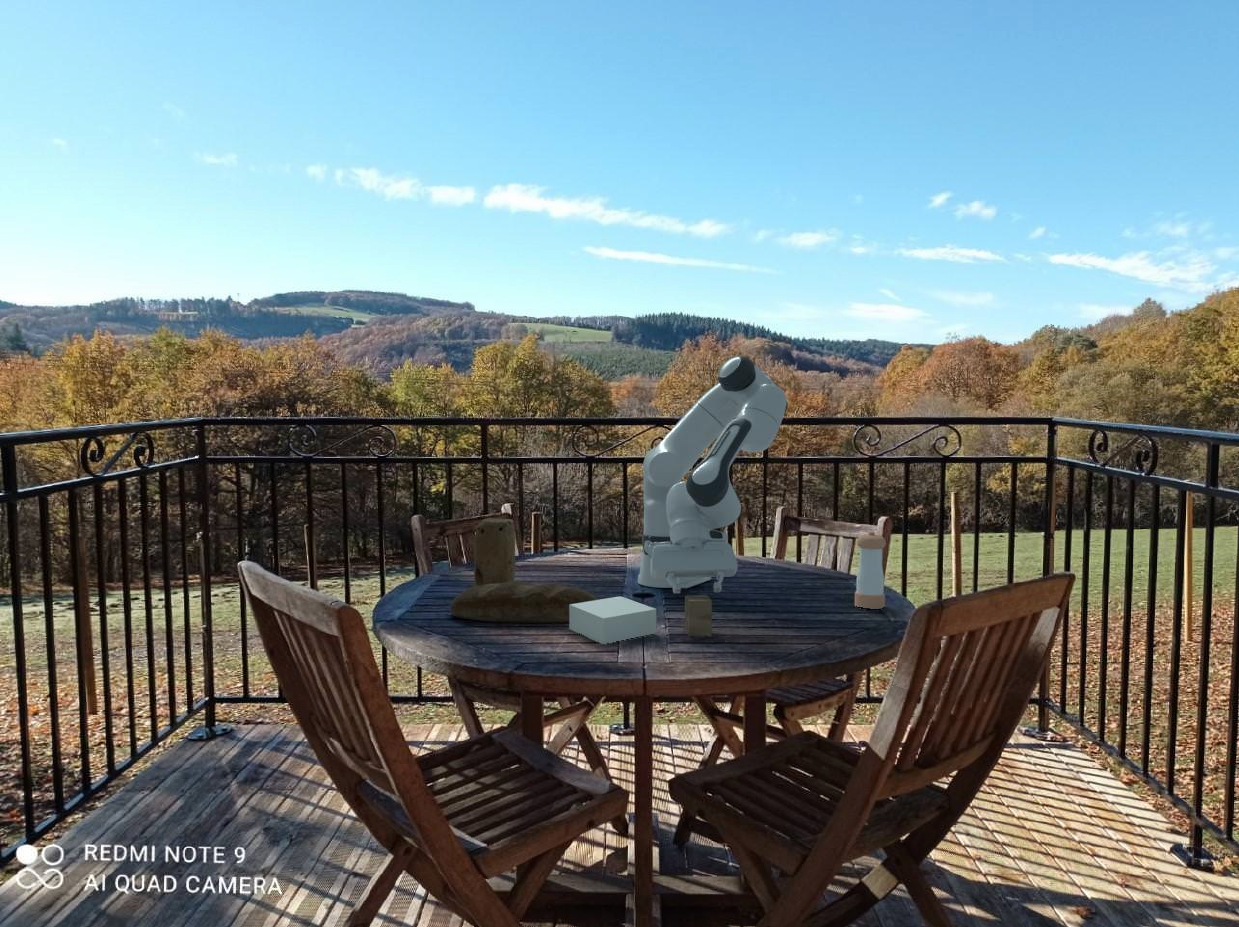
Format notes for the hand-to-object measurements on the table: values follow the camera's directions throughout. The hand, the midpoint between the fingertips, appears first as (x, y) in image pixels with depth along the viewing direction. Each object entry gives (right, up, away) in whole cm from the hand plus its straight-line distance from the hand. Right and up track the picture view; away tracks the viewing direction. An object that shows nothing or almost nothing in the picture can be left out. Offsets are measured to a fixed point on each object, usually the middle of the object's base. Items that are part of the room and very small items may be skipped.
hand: (697, 591), depth 179 cm
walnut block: (0, -9, -4) cm, 9 cm away
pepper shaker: (+46, -7, +20) cm, 50 cm away
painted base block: (-19, -9, -3) cm, 22 cm away
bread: (-40, -8, +11) cm, 43 cm away
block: (-52, -6, +34) cm, 62 cm away
